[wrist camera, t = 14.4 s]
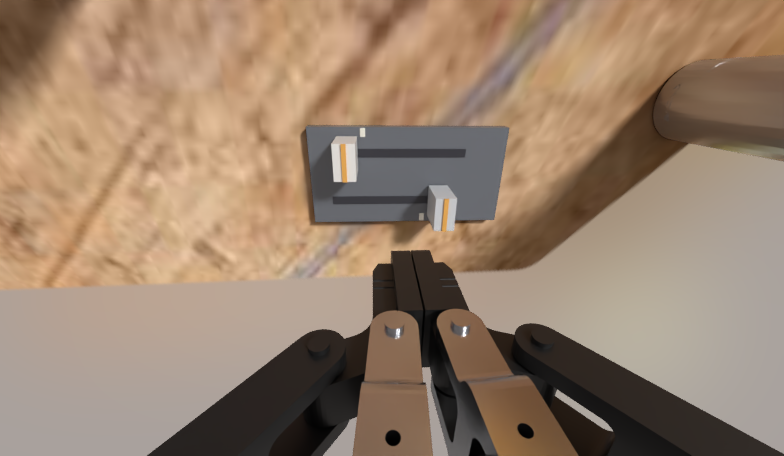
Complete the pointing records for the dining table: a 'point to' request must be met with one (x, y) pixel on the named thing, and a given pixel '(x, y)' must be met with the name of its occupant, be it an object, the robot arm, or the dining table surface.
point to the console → (407, 171)
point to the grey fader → (441, 208)
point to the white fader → (345, 158)
